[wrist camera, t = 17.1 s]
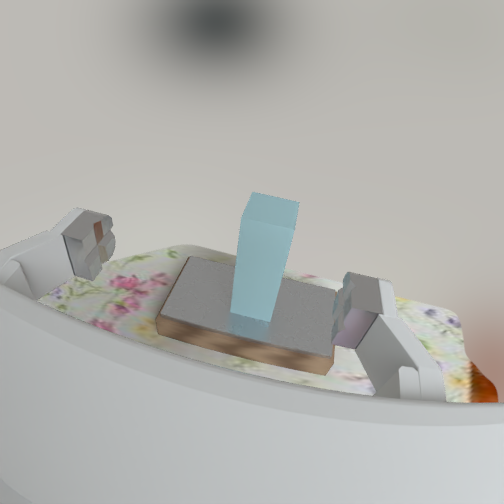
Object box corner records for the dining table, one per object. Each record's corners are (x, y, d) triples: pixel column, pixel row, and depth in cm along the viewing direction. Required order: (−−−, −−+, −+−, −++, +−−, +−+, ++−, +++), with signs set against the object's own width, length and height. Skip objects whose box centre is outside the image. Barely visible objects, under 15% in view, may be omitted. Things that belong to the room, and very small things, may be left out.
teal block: (230, 312, 38) (241, 217, 29) (239, 283, 42) (252, 191, 33) (270, 322, 38) (294, 229, 29) (276, 292, 42) (299, 202, 33)
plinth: (158, 333, 39) (154, 315, 36) (189, 272, 48) (188, 252, 46) (325, 375, 37) (335, 359, 35) (330, 306, 46) (338, 288, 44)
